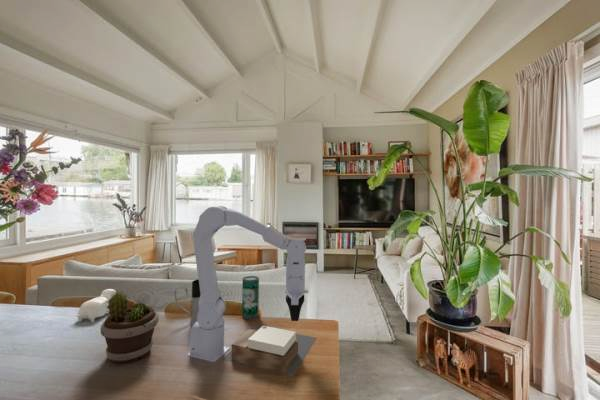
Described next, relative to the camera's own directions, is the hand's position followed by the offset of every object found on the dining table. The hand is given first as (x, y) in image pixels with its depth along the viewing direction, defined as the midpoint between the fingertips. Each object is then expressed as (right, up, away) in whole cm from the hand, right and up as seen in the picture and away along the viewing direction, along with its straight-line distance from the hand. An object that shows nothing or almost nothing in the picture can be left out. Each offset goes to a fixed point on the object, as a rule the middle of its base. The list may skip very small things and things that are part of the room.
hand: (294, 320), depth 84 cm
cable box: (-8, -9, -3) cm, 13 cm away
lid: (-6, -5, -4) cm, 9 cm away
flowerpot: (-49, -9, -2) cm, 50 cm away
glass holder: (-38, -10, +20) cm, 44 cm away
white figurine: (-78, -9, +25) cm, 82 cm away
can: (-18, -10, +26) cm, 33 cm away
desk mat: (-7, -10, +2) cm, 12 cm away
